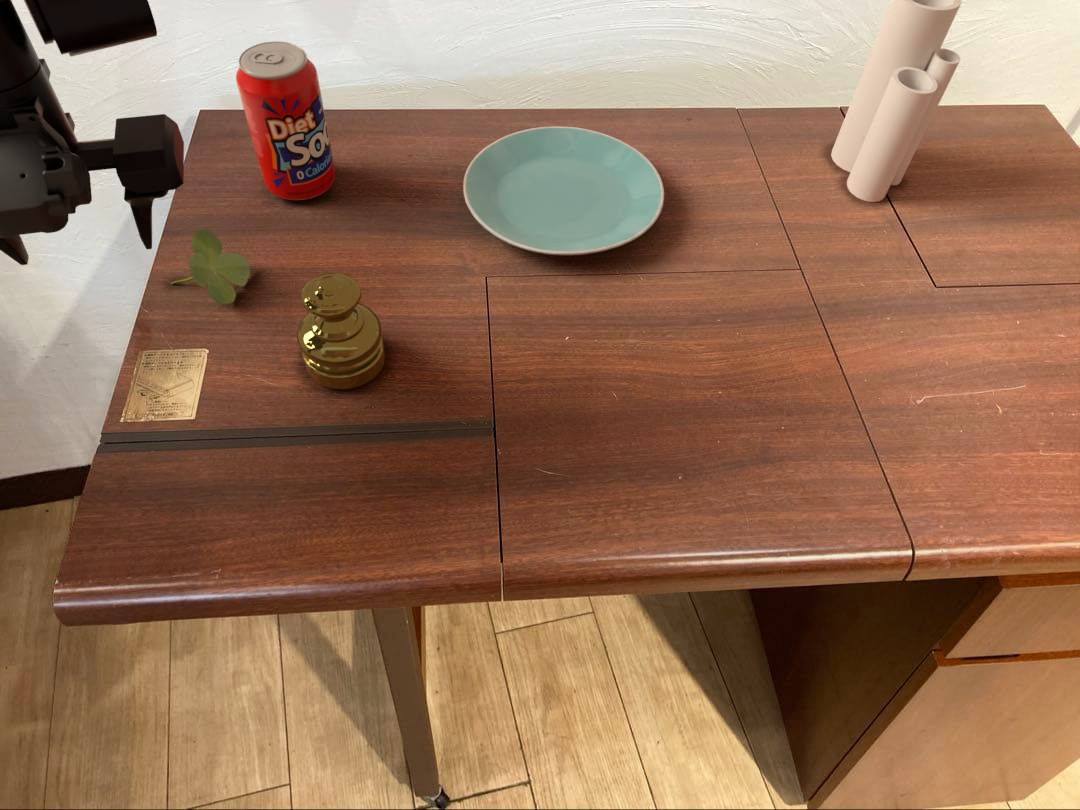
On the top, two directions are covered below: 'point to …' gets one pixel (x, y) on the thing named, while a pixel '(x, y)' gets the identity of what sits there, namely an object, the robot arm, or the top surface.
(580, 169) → the plate
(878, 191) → the vase
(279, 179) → the soda can
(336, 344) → the brass weight
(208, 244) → the green clover leaf
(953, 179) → the top surface
